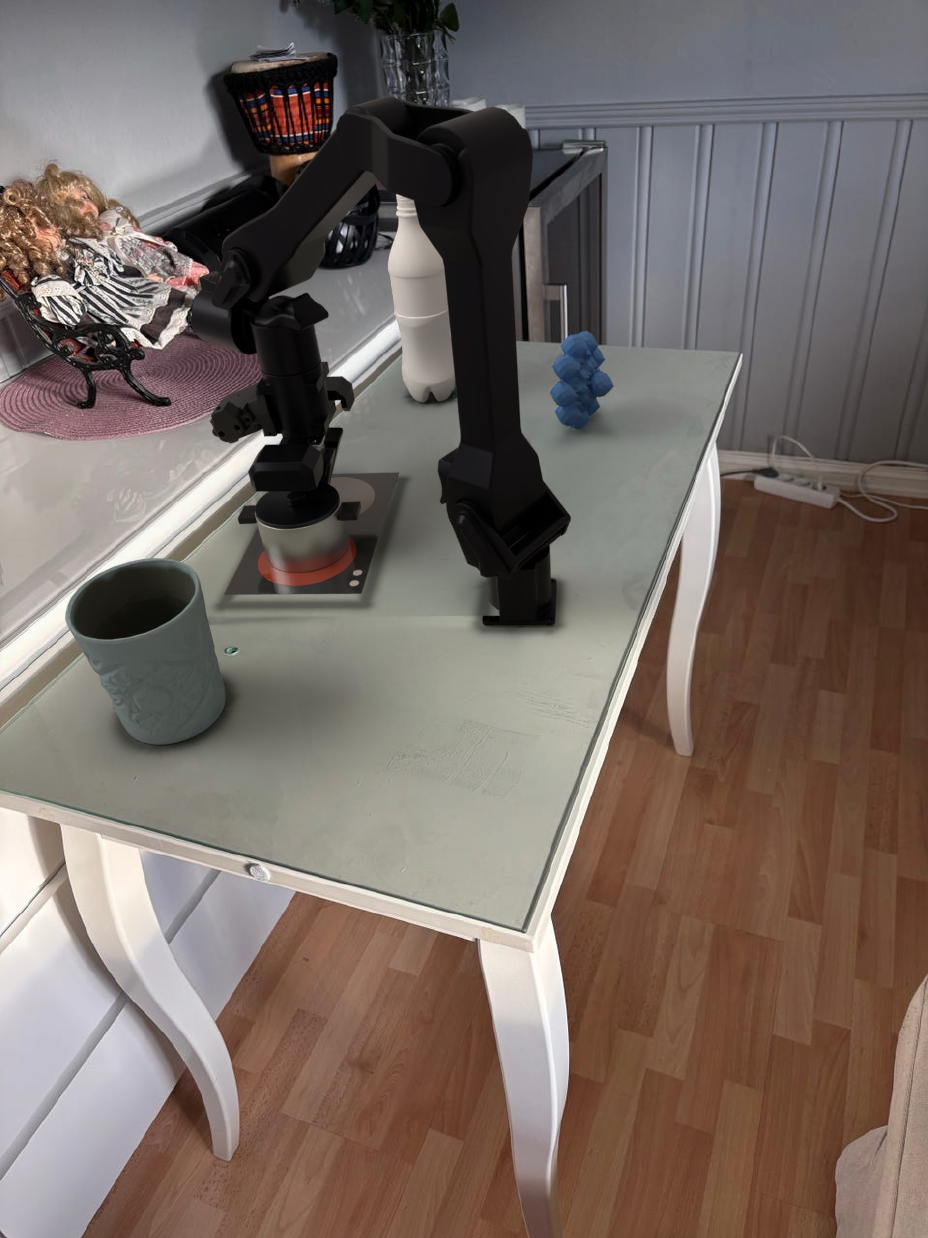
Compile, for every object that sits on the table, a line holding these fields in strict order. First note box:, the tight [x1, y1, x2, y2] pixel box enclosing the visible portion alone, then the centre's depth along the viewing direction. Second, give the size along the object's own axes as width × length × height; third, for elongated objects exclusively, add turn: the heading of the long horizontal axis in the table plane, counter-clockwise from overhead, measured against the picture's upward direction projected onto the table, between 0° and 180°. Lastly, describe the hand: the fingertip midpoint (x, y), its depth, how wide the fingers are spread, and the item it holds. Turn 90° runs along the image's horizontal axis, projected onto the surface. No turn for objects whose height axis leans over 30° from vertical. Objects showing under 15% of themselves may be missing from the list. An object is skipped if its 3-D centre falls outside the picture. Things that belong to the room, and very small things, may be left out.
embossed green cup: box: [64, 557, 227, 746], centre depth 72 cm, size 10×10×12 cm
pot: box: [237, 482, 361, 573], centre depth 89 cm, size 8×12×6 cm
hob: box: [223, 471, 400, 596], centre depth 95 cm, size 23×14×1 cm, turn 174°
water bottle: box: [387, 194, 456, 403], centre depth 112 cm, size 7×7×25 cm
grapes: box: [549, 330, 615, 430], centre depth 105 cm, size 12×7×12 cm, turn 152°
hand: (320, 503), depth 96 cm, fingers closed
